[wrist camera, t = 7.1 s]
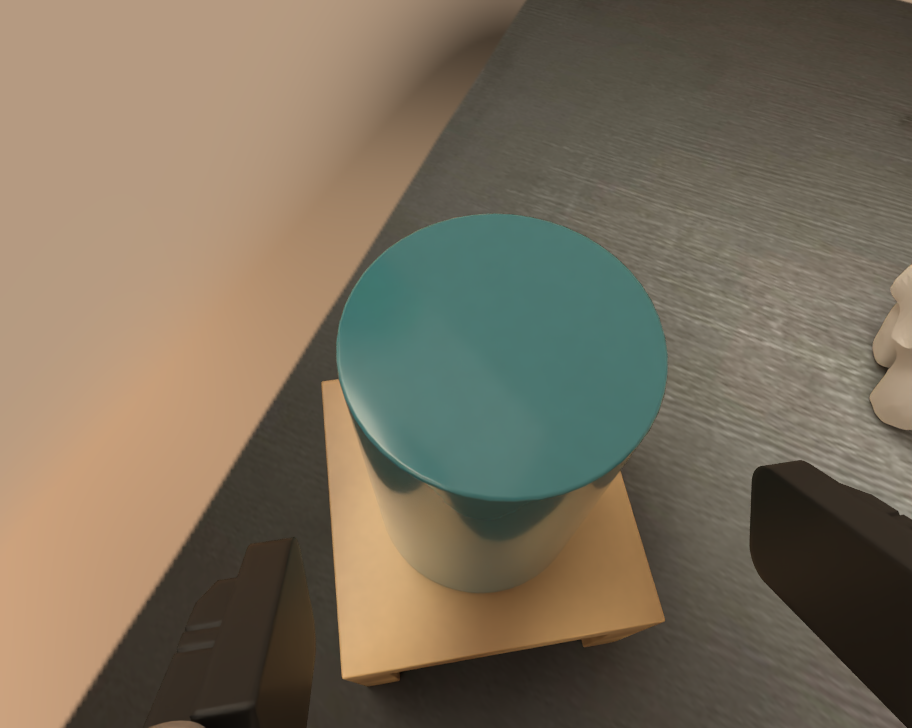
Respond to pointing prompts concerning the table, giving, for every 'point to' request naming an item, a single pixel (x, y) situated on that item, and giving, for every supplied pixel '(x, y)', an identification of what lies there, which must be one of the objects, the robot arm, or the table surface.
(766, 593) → the table surface
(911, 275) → the elephant figurine
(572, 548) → the shelf
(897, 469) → the table surface
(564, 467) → the teal cylinder
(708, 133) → the table surface
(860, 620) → the robot arm
